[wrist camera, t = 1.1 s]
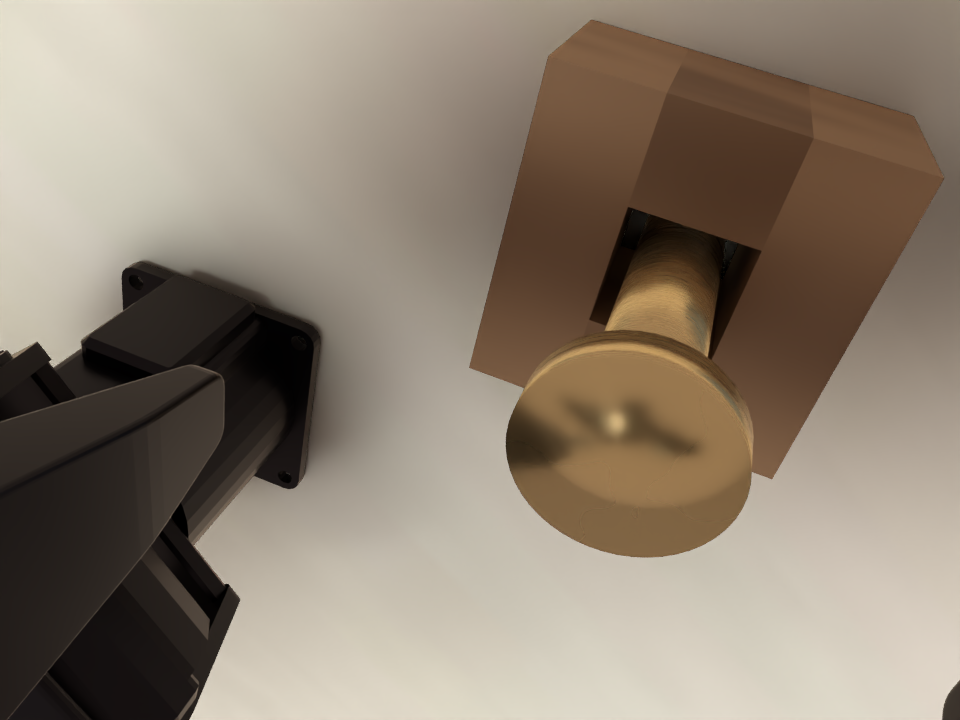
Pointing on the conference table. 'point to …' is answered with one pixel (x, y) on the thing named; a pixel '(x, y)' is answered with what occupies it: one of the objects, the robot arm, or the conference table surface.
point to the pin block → (705, 213)
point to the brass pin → (639, 413)
